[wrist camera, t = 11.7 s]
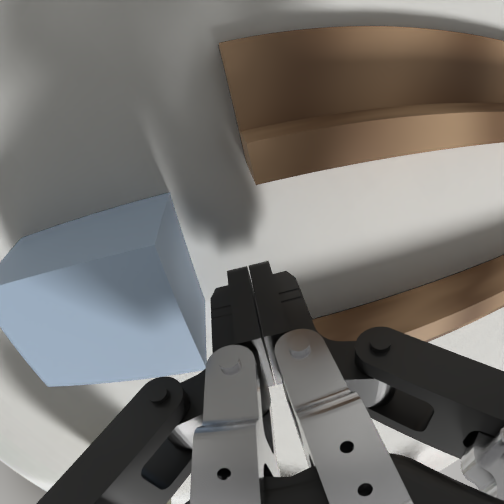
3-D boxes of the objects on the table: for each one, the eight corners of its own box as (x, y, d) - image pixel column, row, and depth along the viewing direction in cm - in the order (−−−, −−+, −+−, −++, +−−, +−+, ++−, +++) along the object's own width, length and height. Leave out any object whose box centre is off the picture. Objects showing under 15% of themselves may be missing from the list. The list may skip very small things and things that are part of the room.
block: (170, 190, 11) (154, 244, 8) (204, 297, 14) (206, 369, 10) (22, 236, 11) (-23, 291, 8) (71, 323, 14) (47, 386, 10)
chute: (563, 59, 9) (593, 67, 6) (536, 281, 17) (555, 300, 15) (218, 45, 9) (220, 34, 7) (293, 377, 17) (302, 413, 15)
